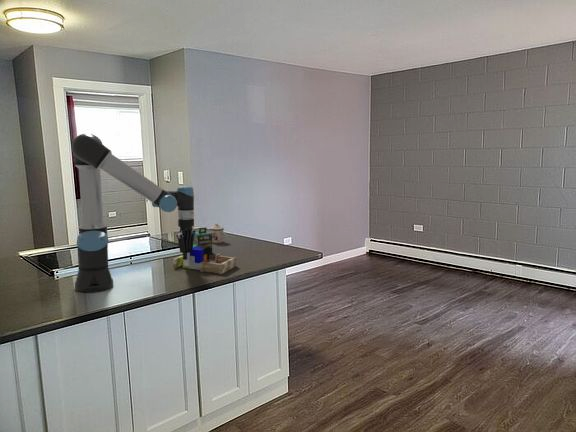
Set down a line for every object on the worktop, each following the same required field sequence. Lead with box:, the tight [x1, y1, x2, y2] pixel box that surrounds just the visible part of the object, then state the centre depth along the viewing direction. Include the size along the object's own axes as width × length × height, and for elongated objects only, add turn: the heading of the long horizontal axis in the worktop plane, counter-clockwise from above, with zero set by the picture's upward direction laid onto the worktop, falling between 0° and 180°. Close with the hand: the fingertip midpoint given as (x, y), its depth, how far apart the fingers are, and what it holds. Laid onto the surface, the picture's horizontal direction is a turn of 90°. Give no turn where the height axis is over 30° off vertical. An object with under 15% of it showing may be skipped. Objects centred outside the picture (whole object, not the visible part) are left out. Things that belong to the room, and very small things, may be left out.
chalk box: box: [193, 226, 213, 254], centre depth 247 cm, size 9×9×15 cm
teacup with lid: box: [209, 223, 227, 244], centre depth 274 cm, size 12×9×12 cm
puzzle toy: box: [182, 244, 211, 271], centre depth 220 cm, size 10×10×10 cm
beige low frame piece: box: [172, 253, 237, 275], centre depth 220 cm, size 18×27×5 cm
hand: (186, 265), depth 212 cm, fingers closed
